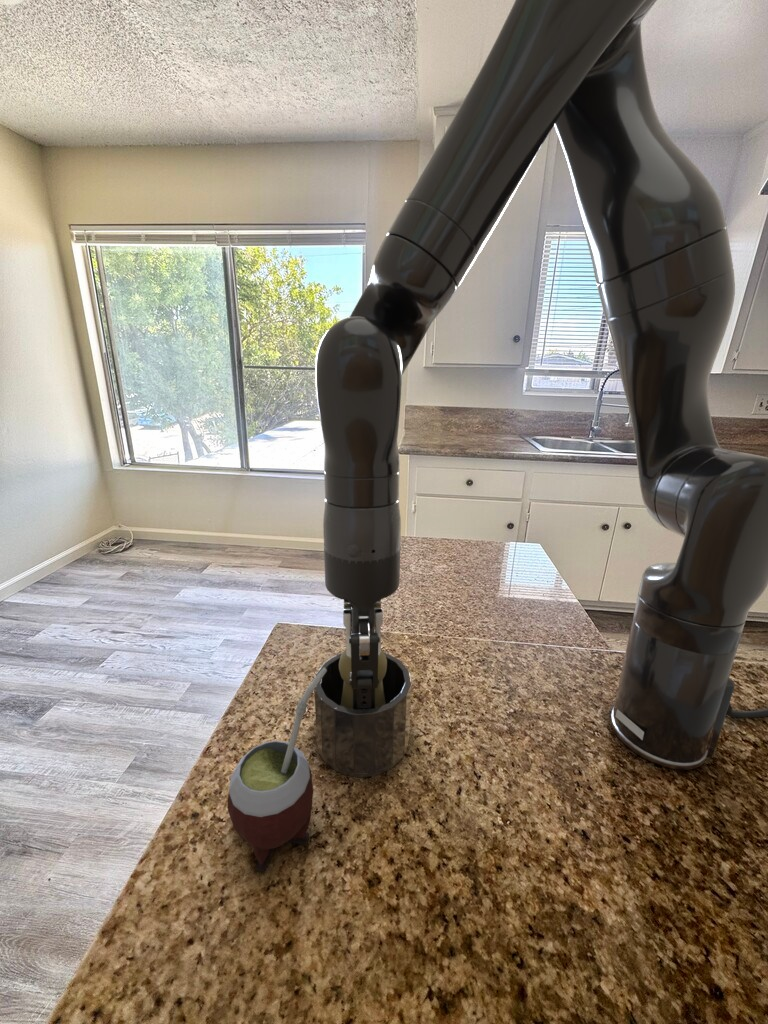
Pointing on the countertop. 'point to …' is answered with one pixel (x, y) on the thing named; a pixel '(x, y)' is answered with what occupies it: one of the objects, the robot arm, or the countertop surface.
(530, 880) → the countertop surface
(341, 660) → the beige pawn figure
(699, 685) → the robot arm
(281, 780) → the mate gourd
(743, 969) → the countertop surface
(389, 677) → the mug
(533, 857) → the countertop surface
